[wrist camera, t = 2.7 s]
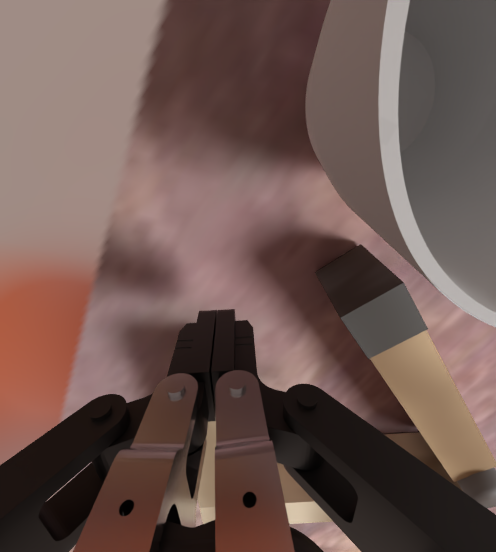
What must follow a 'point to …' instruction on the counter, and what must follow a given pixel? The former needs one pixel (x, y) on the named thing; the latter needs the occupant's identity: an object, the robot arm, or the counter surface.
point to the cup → (414, 133)
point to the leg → (410, 366)
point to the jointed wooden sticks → (295, 497)
